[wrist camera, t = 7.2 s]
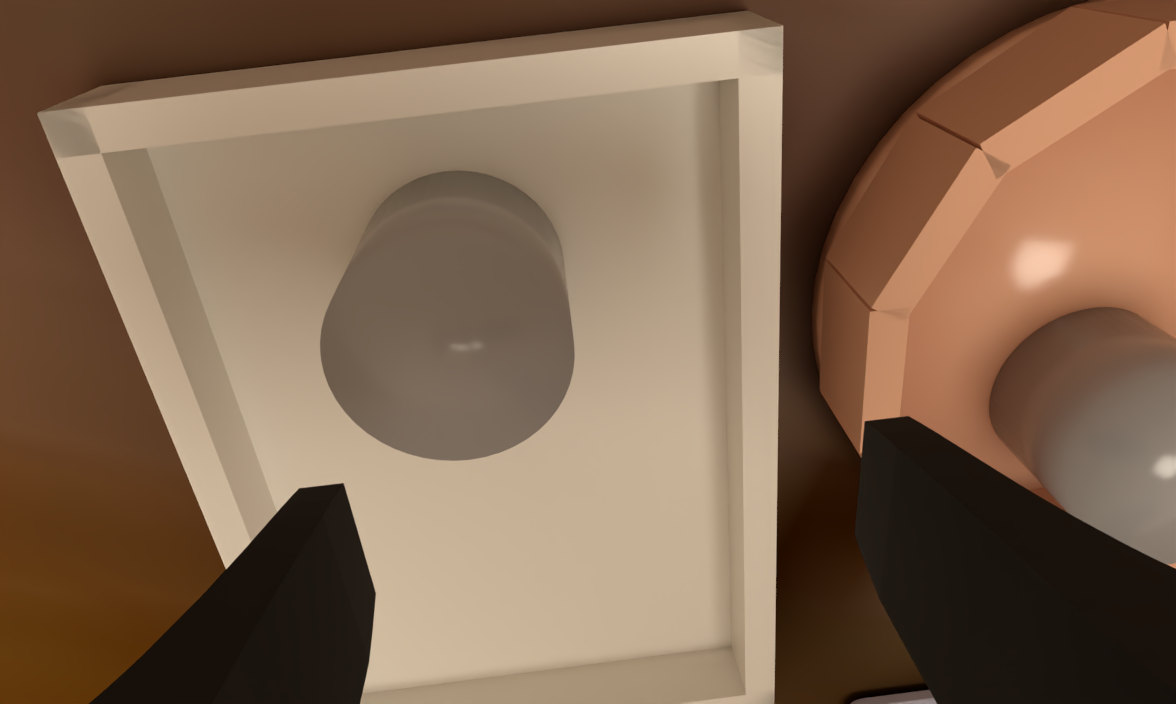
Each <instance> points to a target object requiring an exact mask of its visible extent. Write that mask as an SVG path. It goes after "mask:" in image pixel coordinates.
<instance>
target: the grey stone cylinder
mask: <svg viewBox="0 0 1176 704" xmlns="http://www.w3.org/2000/svg"><path fill="white" fill-rule="evenodd" d="M989 413H990V419H991V424H992V426H993V429H994V431H995V433H996V434H997V436H998V438H999V439H1000V440H1001V441H1002V442H1003V443H1004V444H1005V446H1006V447H1007V448H1008V449H1009V450H1010V451H1011V452H1012V453H1013V454H1014V455H1015V456H1016V457H1017V458H1018V460H1019V461H1020V462H1021V463H1022V464H1023V465H1024V466H1025V467H1026V468H1027V469H1028V470H1029V471H1030V472H1031V474H1032V475H1033V476H1034V477H1035V478H1036V479H1037V480H1038V481H1039V482H1040V483H1041V484H1042V485H1043V487H1044V488H1045V489H1046V490H1047V491H1048V492H1049V493H1050V494H1051V495H1052V496H1053V497H1054V498H1055V499H1056V501H1057V502H1058V503H1059V504H1060V505H1061V506H1062V507H1063V508H1064V509H1065V510H1066V511H1067V512H1068V513H1069V514H1071V515H1073V516H1074V517H1076V518H1078V519H1080V520H1082V521H1083V522H1085V523H1087V524H1089V525H1091V526H1093V527H1095V528H1096V529H1098V530H1100V531H1102V532H1104V533H1106V534H1107V535H1109V536H1111V537H1113V538H1115V539H1117V540H1119V541H1120V542H1122V543H1124V544H1126V545H1128V546H1130V547H1132V548H1134V549H1136V550H1138V551H1140V552H1142V553H1144V554H1146V555H1148V556H1150V557H1152V558H1154V559H1156V560H1158V561H1160V562H1163V563H1165V564H1167V565H1168V564H1174V563H1176V338H1175V337H1173V336H1171V335H1170V334H1168V333H1167V332H1165V331H1164V330H1162V329H1160V328H1159V327H1157V326H1156V325H1154V324H1153V323H1151V322H1150V321H1148V320H1146V319H1145V318H1143V317H1142V316H1140V315H1138V314H1136V313H1134V312H1131V311H1129V310H1125V309H1120V308H1113V307H1097V308H1089V309H1084V310H1080V311H1076V312H1073V313H1070V314H1067V315H1065V316H1062V317H1060V318H1057V319H1056V320H1054V321H1052V322H1050V323H1048V324H1046V325H1045V326H1043V327H1041V328H1040V329H1038V330H1037V331H1035V332H1034V333H1033V334H1032V335H1030V336H1029V337H1028V338H1026V339H1025V340H1024V341H1023V342H1022V343H1021V344H1020V345H1019V346H1018V347H1017V348H1016V349H1015V350H1014V352H1013V353H1012V354H1011V355H1010V356H1009V357H1008V359H1007V360H1006V362H1005V363H1004V365H1003V366H1002V368H1001V370H1000V371H999V373H998V375H997V377H996V380H995V382H994V385H993V387H992V391H991V395H990V403H989Z"/></svg>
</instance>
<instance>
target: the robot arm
mask: <svg viewBox="0 0 1176 704" xmlns="http://www.w3.org/2000/svg"><path fill="white" fill-rule="evenodd" d="M855 537H856V540H857V542H858V545H859V548H860V550H861V553H862V556H863V558H864V561H865V564H866V566H867V569H868V572H869V574H870V576H871V579H872V581H873V584H874V586H875V589H876V591H877V594H878V596H879V599H880V601H881V602H882V604H883V606H884V608H885V610H886V612H887V614H888V616H889V618H890V619H891V621H892V623H893V625H894V627H895V629H896V630H897V632H898V634H899V636H900V638H901V640H902V641H903V643H904V645H905V647H906V649H907V651H908V652H909V654H910V656H911V658H912V660H913V661H914V663H915V665H916V667H917V669H918V670H919V672H920V674H921V676H922V678H923V679H924V681H925V683H926V685H927V687H928V688H929V690H923V691H915V692H907V693H900V694H892V695H884V696H877V697H869V698H861V699H858V700H855V701H853V702H851V703H850V704H1176V569H1175V568H1173V567H1171V566H1169V565H1167V564H1165V563H1163V562H1160V561H1158V560H1156V559H1154V558H1152V557H1150V556H1148V555H1146V554H1144V553H1142V552H1140V551H1138V550H1136V549H1134V548H1132V547H1130V546H1128V545H1126V544H1124V543H1122V542H1120V541H1119V540H1117V539H1115V538H1113V537H1111V536H1109V535H1107V534H1106V533H1104V532H1102V531H1100V530H1098V529H1096V528H1095V527H1093V526H1091V525H1089V524H1087V523H1085V522H1083V521H1082V520H1080V519H1078V518H1076V517H1074V516H1073V515H1071V514H1069V513H1067V512H1066V511H1064V510H1062V509H1060V508H1059V507H1057V506H1055V505H1053V504H1052V503H1050V502H1048V501H1046V500H1045V499H1043V498H1041V497H1040V496H1038V495H1036V494H1035V493H1033V492H1031V491H1030V490H1028V489H1026V488H1025V487H1023V486H1021V485H1020V484H1018V483H1016V482H1015V481H1013V480H1011V479H1010V478H1008V477H1007V476H1005V475H1003V474H1002V473H1000V472H999V471H997V470H995V469H994V468H992V467H991V466H989V465H987V464H986V463H984V462H983V461H981V460H979V459H978V458H976V457H975V456H973V455H971V454H970V453H968V452H967V451H965V450H964V449H962V448H960V447H959V446H957V445H956V444H954V443H952V442H951V441H949V440H948V439H946V438H944V437H943V436H941V435H940V434H938V433H936V432H935V431H933V430H932V429H930V428H928V427H927V426H925V425H923V424H922V423H920V422H918V421H916V420H915V419H913V418H911V417H909V416H904V417H895V418H887V419H879V420H870V421H865V423H864V435H863V446H862V457H861V469H860V480H859V492H858V503H857V514H856V526H855ZM375 598H376V592H375V588H374V585H373V582H372V578H371V575H370V571H369V568H368V565H367V561H366V558H365V554H364V551H363V547H362V544H361V541H360V537H359V534H358V530H357V527H356V524H355V520H354V517H353V513H352V510H351V506H350V503H349V500H348V496H347V493H346V489H345V486H344V483H340V484H331V485H323V486H314V487H306V488H299V489H298V490H297V491H296V492H295V493H294V494H293V495H292V496H291V497H290V498H289V500H288V501H287V502H286V503H285V504H284V505H283V506H282V507H281V508H280V510H279V511H278V512H277V513H276V514H275V515H274V516H273V518H272V519H271V520H270V521H269V522H268V523H267V524H266V525H265V527H264V528H263V529H262V530H261V531H260V532H259V533H258V535H257V536H256V537H255V538H254V539H253V540H252V541H251V542H250V544H249V545H248V546H247V547H246V548H245V549H244V550H243V551H242V553H241V554H240V555H239V556H238V557H237V558H236V559H235V560H234V561H233V562H232V564H231V565H230V566H229V567H228V568H227V569H226V570H225V571H224V572H223V573H222V575H221V576H220V577H219V578H218V579H217V580H216V581H215V582H214V583H213V584H212V585H211V587H210V588H209V589H208V590H207V591H206V592H205V593H204V594H203V595H202V596H201V597H200V598H199V599H198V600H197V601H196V602H195V603H194V604H193V605H192V606H191V607H190V608H189V609H188V610H187V611H186V612H185V613H184V614H183V615H182V616H181V617H180V618H179V619H178V620H177V621H176V622H175V623H174V624H173V625H172V626H171V627H170V628H169V629H168V630H167V631H166V632H165V633H164V634H163V635H162V636H161V637H160V638H159V640H158V641H157V642H156V643H155V644H154V645H153V646H152V647H151V648H150V649H149V650H148V651H147V652H146V653H145V654H144V655H143V656H142V657H140V658H139V659H138V660H137V661H136V662H135V663H134V664H133V665H132V666H131V667H130V668H129V669H128V670H127V671H125V672H124V673H123V674H122V675H121V676H120V677H119V678H118V679H117V680H116V681H114V682H113V683H112V684H111V685H110V686H109V687H108V688H107V689H106V690H104V691H103V692H102V693H101V694H100V695H99V696H97V697H96V698H95V699H94V700H93V701H92V702H90V703H89V704H360V701H361V697H362V693H363V688H364V684H365V679H366V675H367V670H368V665H369V659H370V650H371V641H372V632H373V621H374V610H375Z"/></svg>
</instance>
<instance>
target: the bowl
mask: <svg viewBox="0 0 1176 704" xmlns="http://www.w3.org/2000/svg"><path fill="white" fill-rule="evenodd" d="M1097 307H1113V308H1120V309H1125V310H1129V311H1131V312H1134V313H1136V314H1138V315H1140V316H1142V317H1143V318H1145V319H1146V320H1148V321H1150V322H1151V323H1153V324H1154V325H1156V326H1157V327H1159V328H1160V329H1162V330H1164V331H1165V332H1167V333H1168V334H1170V335H1171V336H1173V337H1175V338H1176V0H1088V1H1085V2H1082V3H1079V4H1076V5H1073V6H1070V7H1067V8H1064V9H1061V10H1057V11H1054V12H1051V13H1049V14H1047V15H1045V16H1042V17H1040V18H1038V19H1036V20H1034V21H1031V22H1029V23H1027V24H1025V25H1023V26H1021V27H1018V28H1016V29H1014V30H1012V31H1010V32H1008V33H1007V34H1005V35H1003V36H1002V37H1000V38H998V39H997V40H995V41H993V42H992V43H990V44H988V45H987V46H985V47H983V48H982V49H980V50H978V51H977V52H975V53H973V54H972V55H971V56H969V57H968V58H967V59H965V60H964V61H963V62H961V63H960V64H959V65H957V66H956V67H955V68H954V69H952V70H951V71H950V72H948V73H947V74H946V75H944V76H943V77H942V78H940V79H939V80H938V81H937V82H935V83H934V84H933V85H932V86H931V87H930V88H929V89H928V90H927V91H926V92H925V93H924V94H923V95H922V96H921V97H920V98H919V99H918V100H917V101H915V102H914V103H913V104H912V105H911V106H910V107H909V108H908V109H907V110H906V111H905V112H904V113H903V114H902V115H901V117H900V118H899V119H898V120H897V121H896V123H895V124H894V125H893V126H892V127H891V128H890V130H889V131H888V132H887V133H886V134H885V135H884V137H883V138H882V139H881V140H880V141H879V143H878V144H877V145H876V147H875V148H874V150H873V151H872V152H871V154H870V155H869V157H868V158H867V160H866V161H865V163H864V164H863V166H862V167H861V169H860V170H859V172H858V173H857V175H856V176H855V178H854V179H853V181H852V183H851V185H850V187H849V189H848V191H847V193H846V195H845V196H844V198H843V200H842V202H841V204H840V206H839V208H838V210H837V212H836V214H835V217H834V219H833V222H832V224H831V227H830V230H829V232H828V235H827V238H826V240H825V243H824V245H823V249H822V253H821V257H820V261H819V265H818V269H817V273H816V277H815V283H814V293H813V302H812V312H811V316H812V342H813V348H814V353H815V358H816V364H817V369H818V373H819V375H820V391H821V394H822V396H823V397H824V399H825V400H826V402H827V404H828V405H829V407H830V408H831V410H832V412H833V413H834V415H835V417H836V418H837V420H838V421H839V423H840V425H841V426H842V428H843V429H844V431H845V433H846V434H847V436H848V437H849V439H850V441H851V442H852V444H853V445H854V447H855V449H856V450H857V452H858V453H859V455H860V457H862V446H863V435H864V423H865V421H870V420H879V419H887V418H895V417H904V416H909V417H911V418H913V419H915V420H916V421H918V422H920V423H922V424H923V425H925V426H927V427H928V428H930V429H932V430H933V431H935V432H936V433H938V434H940V435H941V436H943V437H944V438H946V439H948V440H949V441H951V442H952V443H954V444H956V445H957V446H959V447H960V448H962V449H964V450H965V451H967V452H968V453H970V454H971V455H973V456H975V457H976V458H978V459H979V460H981V461H983V462H984V463H986V464H987V465H989V466H991V467H992V468H994V469H995V470H997V471H999V472H1000V473H1002V474H1003V475H1005V476H1007V477H1008V478H1010V479H1011V480H1013V481H1015V482H1016V483H1018V484H1020V485H1021V486H1023V487H1025V488H1026V489H1028V490H1030V491H1031V492H1033V493H1035V494H1036V495H1038V496H1040V497H1041V498H1043V499H1045V500H1046V501H1048V502H1050V503H1052V504H1053V505H1055V506H1057V507H1059V508H1060V509H1062V510H1064V511H1066V510H1065V509H1064V508H1063V507H1062V506H1061V505H1060V504H1059V503H1058V502H1057V501H1056V499H1055V498H1054V497H1053V496H1052V495H1051V494H1050V493H1049V492H1048V491H1047V490H1046V489H1045V488H1044V487H1043V485H1042V484H1041V483H1040V482H1039V481H1038V480H1037V479H1036V478H1035V477H1034V476H1033V475H1032V474H1031V472H1030V471H1029V470H1028V469H1027V468H1026V467H1025V466H1024V465H1023V464H1022V463H1021V462H1020V461H1019V460H1018V458H1017V457H1016V456H1015V455H1014V454H1013V453H1012V452H1011V451H1010V450H1009V449H1008V448H1007V447H1006V446H1005V444H1004V443H1003V442H1002V441H1001V440H1000V439H999V438H998V436H997V434H996V433H995V431H994V429H993V426H992V424H991V419H990V413H989V403H990V395H991V391H992V387H993V385H994V382H995V380H996V377H997V375H998V373H999V371H1000V370H1001V368H1002V366H1003V365H1004V363H1005V362H1006V360H1007V359H1008V357H1009V356H1010V355H1011V354H1012V353H1013V352H1014V350H1015V349H1016V348H1017V347H1018V346H1019V345H1020V344H1021V343H1022V342H1023V341H1024V340H1025V339H1026V338H1028V337H1029V336H1030V335H1032V334H1033V333H1034V332H1035V331H1037V330H1038V329H1040V328H1041V327H1043V326H1045V325H1046V324H1048V323H1050V322H1052V321H1054V320H1056V319H1057V318H1060V317H1062V316H1065V315H1067V314H1070V313H1073V312H1076V311H1080V310H1084V309H1089V308H1097ZM1066 512H1067V511H1066ZM1067 513H1068V512H1067ZM1168 565H1169V566H1171V567H1173V568H1175V569H1176V563H1174V564H1168Z"/></svg>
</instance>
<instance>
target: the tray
mask: <svg viewBox="0 0 1176 704" xmlns="http://www.w3.org/2000/svg"><path fill="white" fill-rule="evenodd" d="M782 85H783V25H781V24H778V23H776V22H774V21H771V20H769V19H767V18H765V17H762V16H760V15H758V14H755V13H753V12H751V11H739V12H731V13H722V14H714V15H705V16H697V17H688V18H679V19H671V20H662V21H654V22H645V23H636V24H628V25H619V26H611V27H602V28H593V29H585V30H576V31H568V32H559V33H550V34H542V35H533V36H525V37H516V38H507V39H499V40H490V41H482V42H473V43H464V44H456V45H447V46H439V47H430V48H421V49H413V50H404V51H396V52H387V53H378V54H370V55H361V56H353V57H344V58H335V59H327V60H318V61H310V62H301V63H292V64H284V65H275V66H267V67H258V68H249V69H241V70H232V71H224V72H215V73H206V74H198V75H189V76H181V77H172V78H164V79H155V80H146V81H138V82H129V83H121V84H112V85H103V86H100V87H97V88H95V89H93V90H90V91H88V92H85V93H83V94H81V95H78V96H76V97H73V98H71V99H69V100H66V101H64V102H61V103H59V104H57V105H54V106H52V107H49V108H47V109H45V110H42V111H40V112H38V113H37V115H38V117H39V119H40V122H41V124H42V127H43V129H44V131H45V134H46V136H47V139H48V141H49V144H50V146H51V148H52V151H53V153H54V156H55V158H56V160H57V163H58V165H59V168H60V170H61V172H62V175H63V177H64V180H65V182H66V185H67V187H68V189H69V192H70V194H71V197H72V199H73V201H74V204H75V206H76V209H77V211H78V213H79V216H80V218H81V221H82V223H83V226H84V228H85V230H86V233H87V235H88V238H89V240H90V242H91V245H92V247H93V250H94V252H95V254H96V257H97V259H98V262H99V264H100V267H101V269H102V271H103V274H104V276H105V279H106V281H107V283H108V286H109V288H110V291H111V293H112V296H113V298H114V300H115V303H116V305H117V308H118V310H119V312H120V315H121V317H122V320H123V322H124V324H125V327H126V329H127V332H128V334H129V337H130V339H131V341H132V344H133V346H134V349H135V351H136V353H137V356H138V358H139V361H140V363H141V365H142V368H143V370H144V373H145V375H146V378H147V380H148V382H149V385H150V387H151V390H152V392H153V394H154V397H155V399H156V402H157V404H158V406H159V409H160V411H161V414H162V416H163V419H164V421H165V423H166V426H167V428H168V431H169V433H170V435H171V438H172V440H173V443H174V445H175V447H176V450H177V452H178V455H179V457H180V460H181V462H182V464H183V467H184V469H185V472H186V474H187V476H188V479H189V481H190V484H191V486H192V488H193V491H194V493H195V496H196V498H197V501H198V503H199V505H200V508H201V510H202V513H203V515H204V517H205V520H206V522H207V525H208V527H209V529H210V532H211V534H212V537H213V539H214V542H215V544H216V546H217V549H218V551H219V554H220V556H221V558H222V561H223V563H224V566H225V568H226V569H227V568H228V567H229V566H230V565H231V564H232V562H233V561H234V560H235V559H236V558H237V557H238V556H239V555H240V554H241V553H242V551H243V550H244V549H245V548H246V547H247V546H248V545H249V544H250V542H251V541H252V540H253V539H254V538H255V537H256V536H257V535H258V533H259V532H260V531H261V530H262V529H263V528H264V527H265V525H266V524H267V523H268V522H269V521H270V520H271V519H272V518H273V516H274V515H275V514H276V513H277V512H278V511H279V510H280V508H281V507H282V506H283V505H284V504H285V503H286V502H287V501H288V500H289V498H290V497H291V496H292V495H293V494H294V493H295V492H296V491H297V490H298V489H299V488H306V487H314V486H323V485H331V484H340V483H344V486H345V489H346V493H347V496H348V500H349V503H350V506H351V510H352V513H353V517H354V520H355V524H356V527H357V530H358V534H359V537H360V541H361V544H362V547H363V551H364V554H365V558H366V561H367V565H368V568H369V571H370V575H371V578H372V582H373V585H374V588H375V592H376V598H375V610H374V621H373V632H372V641H371V650H370V659H369V665H368V670H367V675H366V679H365V684H364V688H363V693H362V697H361V701H360V704H774V689H775V614H776V538H777V463H778V387H779V312H780V236H781V161H782ZM444 171H471V172H477V173H482V174H487V175H490V176H493V177H496V178H499V179H501V180H504V181H506V182H508V183H510V184H512V185H514V186H515V187H517V188H518V189H520V190H521V191H523V192H524V193H526V194H527V195H528V196H529V197H530V198H531V199H533V200H534V201H535V202H536V203H537V204H538V205H539V207H540V208H541V209H542V210H543V211H544V212H545V214H546V215H547V217H548V218H549V220H550V221H551V223H552V225H553V227H554V229H555V231H556V233H557V235H558V238H559V241H560V244H561V247H562V252H563V257H564V265H565V273H566V281H567V289H568V297H569V306H570V314H571V322H572V330H573V338H574V352H575V359H574V369H573V374H572V378H571V382H570V386H569V388H568V390H567V393H566V395H565V398H564V399H563V401H562V403H561V404H560V406H559V408H558V409H557V411H556V412H555V413H554V415H553V416H552V417H551V418H550V420H549V421H548V422H547V423H546V424H545V425H544V426H543V427H542V428H541V429H540V430H539V431H537V432H536V433H535V434H533V435H532V436H531V437H529V438H528V439H527V440H525V441H523V442H521V443H520V444H518V445H516V446H514V447H512V448H510V449H507V450H505V451H503V452H500V453H497V454H494V455H491V456H487V457H483V458H477V459H472V460H459V461H447V460H434V459H427V458H422V457H418V456H414V455H410V454H407V453H404V452H402V451H399V450H396V449H394V448H392V447H390V446H388V445H386V444H384V443H382V442H380V441H378V440H377V439H375V438H374V437H372V436H371V435H369V434H368V433H366V432H365V431H364V430H363V429H362V428H360V427H359V426H358V425H357V424H356V423H355V422H354V421H353V420H352V419H351V418H350V417H349V416H348V415H347V414H346V413H345V412H344V410H343V409H342V408H341V406H340V405H339V403H338V402H337V401H336V399H335V397H334V395H333V393H332V392H331V390H330V388H329V386H328V383H327V380H326V377H325V375H324V371H323V367H322V362H321V355H320V337H321V328H322V324H323V320H324V316H325V313H326V311H327V308H328V306H329V304H330V301H331V299H332V297H333V295H334V293H335V291H336V289H337V287H338V285H339V283H340V281H341V279H342V277H343V275H344V273H345V271H346V269H347V266H348V264H349V262H350V260H351V258H352V256H353V254H354V252H355V250H356V248H357V246H358V244H359V242H360V240H361V238H362V236H363V234H364V232H365V230H366V228H367V226H368V224H369V221H370V220H371V218H372V217H373V215H374V213H375V212H376V210H377V209H378V208H379V207H380V205H381V204H382V203H383V202H384V201H385V200H386V199H387V198H388V197H389V196H390V195H391V194H392V193H394V192H395V191H396V190H398V189H399V188H401V187H402V186H404V185H405V184H407V183H409V182H411V181H413V180H415V179H417V178H420V177H423V176H426V175H429V174H433V173H439V172H444Z"/></svg>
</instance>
